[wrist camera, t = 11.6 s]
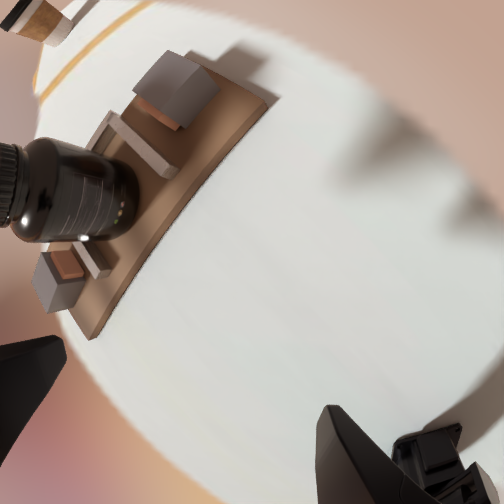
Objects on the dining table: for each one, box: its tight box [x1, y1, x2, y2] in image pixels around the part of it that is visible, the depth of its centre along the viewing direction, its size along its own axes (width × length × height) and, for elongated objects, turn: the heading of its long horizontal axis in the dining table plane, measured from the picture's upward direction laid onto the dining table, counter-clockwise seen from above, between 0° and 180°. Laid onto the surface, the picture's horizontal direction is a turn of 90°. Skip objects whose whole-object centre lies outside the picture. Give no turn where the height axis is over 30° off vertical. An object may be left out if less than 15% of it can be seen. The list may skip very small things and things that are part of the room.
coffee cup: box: [0, 0, 74, 47], centre depth 20 cm, size 8×8×15 cm
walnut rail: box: [32, 50, 268, 341], centre depth 19 cm, size 26×11×5 cm, turn 138°
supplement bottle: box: [0, 137, 140, 243], centre depth 14 cm, size 7×7×12 cm
